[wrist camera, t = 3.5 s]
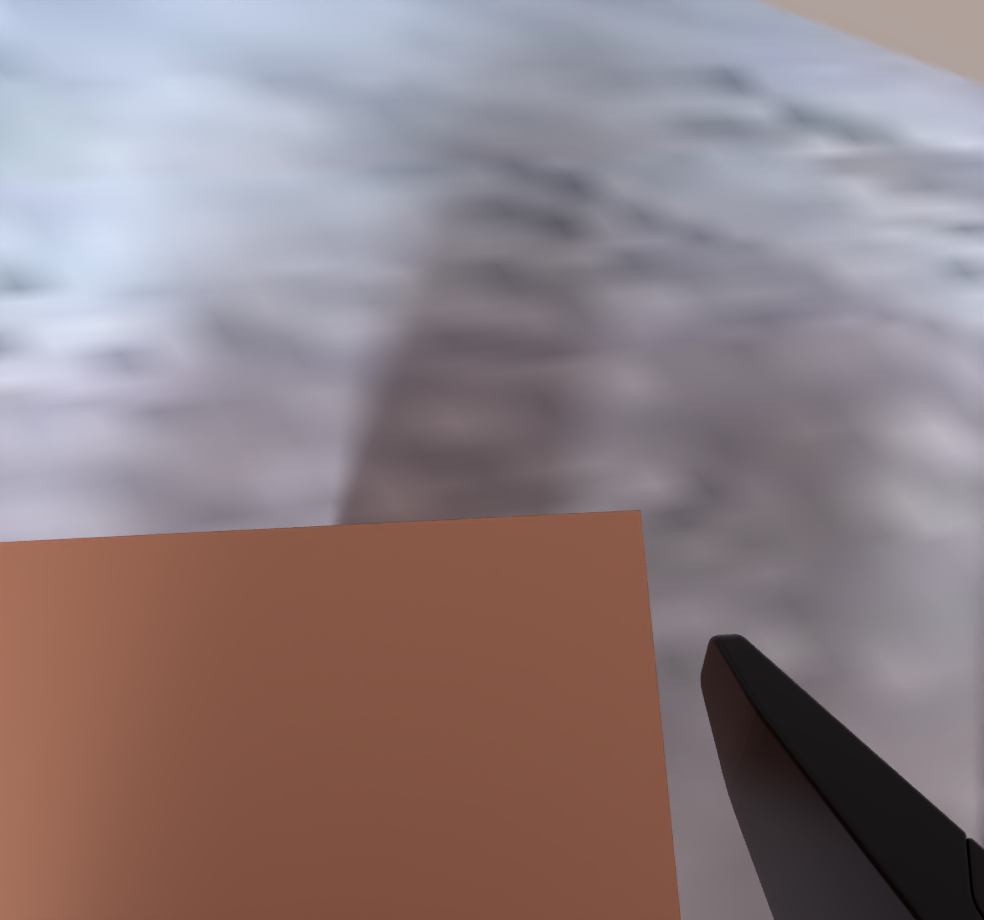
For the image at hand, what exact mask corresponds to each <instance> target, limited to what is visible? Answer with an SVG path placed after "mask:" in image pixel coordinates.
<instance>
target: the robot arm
mask: <svg viewBox="0 0 984 920" xmlns="http://www.w3.org/2000/svg"><path fill="white" fill-rule="evenodd" d="M701 689H702V693H703V697H704V701H705V705H706V709H707V713H708V717H709V721H710V725H711V729H712V733H713V737H714V741H715V745H716V749H717V753H718V757H719V761H720V765H721V769H722V773H723V776H724V780H725V784H726V787H727V791H728V795H729V798H730V800H731V803H732V806H733V809H734V812H735V815H736V818H737V820H738V823H739V826H740V828H741V831H742V834H743V837H744V839H745V842H746V845H747V847H748V850H749V853H750V856H751V858H752V861H753V864H754V866H755V869H756V872H757V874H758V877H759V880H760V883H761V885H762V888H763V891H764V893H765V896H766V899H767V902H768V904H769V907H770V910H771V912H772V915H773V918H774V920H984V849H983V848H982V847H981V846H980V845H979V844H978V843H977V842H976V841H974V840H973V839H972V838H967V837H966V834H965V832H964V831H963V830H962V829H961V828H959V827H958V826H957V825H956V824H955V823H954V822H953V821H951V820H950V819H949V818H948V817H947V816H946V815H945V814H944V813H942V812H941V811H940V810H939V809H938V808H937V807H936V806H935V805H933V804H932V803H931V802H930V801H929V800H928V799H927V798H925V797H924V796H923V795H922V794H921V793H920V792H919V791H918V790H916V789H915V788H914V787H913V786H912V785H911V784H910V783H909V782H907V781H906V780H905V779H904V778H903V777H902V776H901V775H899V774H898V773H897V772H896V771H895V770H894V769H893V768H892V767H890V766H889V765H888V764H887V763H886V762H885V761H884V760H882V759H881V758H880V757H879V756H878V755H877V754H876V753H875V752H873V751H872V750H871V749H870V748H869V747H868V746H867V745H866V744H864V743H863V742H862V741H861V740H860V739H859V738H858V737H856V736H855V735H854V734H853V733H852V732H851V731H850V730H849V729H847V728H846V727H845V726H844V725H843V724H842V723H841V722H840V721H838V720H837V719H836V718H835V717H834V716H833V715H832V714H830V713H829V712H828V711H827V710H826V709H825V708H824V707H823V706H821V705H820V704H819V703H818V702H817V701H816V700H815V699H813V698H812V697H811V696H810V695H809V694H808V693H807V692H806V691H804V690H803V689H802V688H801V687H800V686H799V685H798V684H797V683H795V682H794V681H793V680H792V679H791V678H790V677H789V676H787V675H786V674H785V673H784V672H783V671H782V670H781V669H780V668H778V667H777V666H776V665H775V664H774V663H773V662H772V661H771V660H769V659H768V658H767V657H766V656H765V655H764V654H763V653H761V652H760V651H759V650H758V649H757V648H756V647H755V646H754V645H752V644H751V643H750V642H749V641H748V640H747V639H746V638H744V637H742V636H741V635H737V634H732V635H716V636H713V637H712V638H711V639H710V641H709V643H708V647H707V651H706V655H705V659H704V663H703V667H702V671H701Z"/></svg>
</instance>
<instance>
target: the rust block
mask: <svg viewBox="0 0 984 920" xmlns="http://www.w3.org/2000/svg"><path fill="white" fill-rule="evenodd" d="M0 920H681V917H680V907H679V897H678V887H677V877H676V867H675V856H674V846H673V836H672V826H671V816H670V806H669V796H668V786H667V775H666V765H665V755H664V745H663V735H662V725H661V715H660V705H659V695H658V684H657V674H656V664H655V654H654V644H653V634H652V624H651V614H650V604H649V593H648V583H647V573H646V563H645V553H644V543H643V533H642V523H641V513H640V510H631V511H611V512H591V513H571V514H552V515H532V516H512V517H492V518H472V519H452V520H433V521H413V522H393V523H373V524H353V525H333V526H313V527H294V528H274V529H254V530H234V531H214V532H194V533H174V534H155V535H135V536H115V537H95V538H75V539H55V540H35V541H16V542H0Z"/></svg>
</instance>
